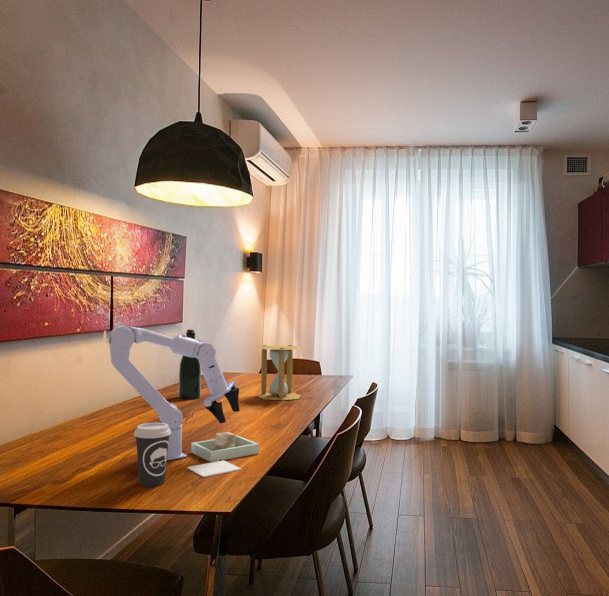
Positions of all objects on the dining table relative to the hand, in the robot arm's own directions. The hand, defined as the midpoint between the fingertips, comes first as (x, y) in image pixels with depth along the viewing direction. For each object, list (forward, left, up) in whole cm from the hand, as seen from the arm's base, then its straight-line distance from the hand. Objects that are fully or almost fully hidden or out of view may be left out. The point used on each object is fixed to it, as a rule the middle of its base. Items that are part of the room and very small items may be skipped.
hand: (229, 416), depth 182 cm
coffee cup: (-32, -15, -11) cm, 37 cm away
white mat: (-13, -14, -11) cm, 22 cm away
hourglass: (+70, +72, -11) cm, 101 cm away
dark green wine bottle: (+32, +93, -11) cm, 99 cm away
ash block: (-2, -1, -11) cm, 11 cm away
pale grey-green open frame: (-2, -1, -11) cm, 11 cm away
